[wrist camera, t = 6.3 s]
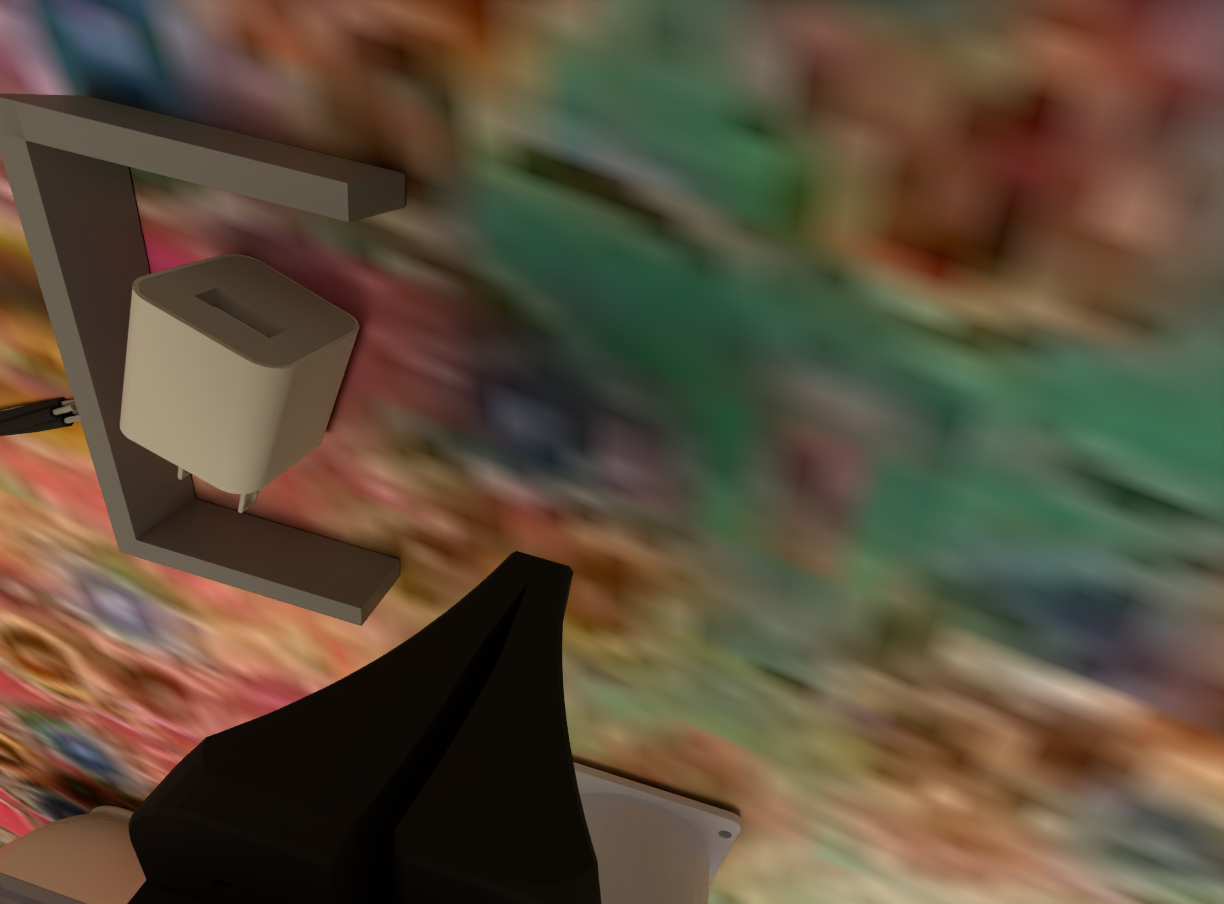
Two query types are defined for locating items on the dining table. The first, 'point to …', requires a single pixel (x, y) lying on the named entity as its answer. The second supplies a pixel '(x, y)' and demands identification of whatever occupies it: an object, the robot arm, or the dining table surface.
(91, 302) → the charging bay
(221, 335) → the usb wall charger
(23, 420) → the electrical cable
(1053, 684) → the dining table surface
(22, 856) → the lidded bowl
